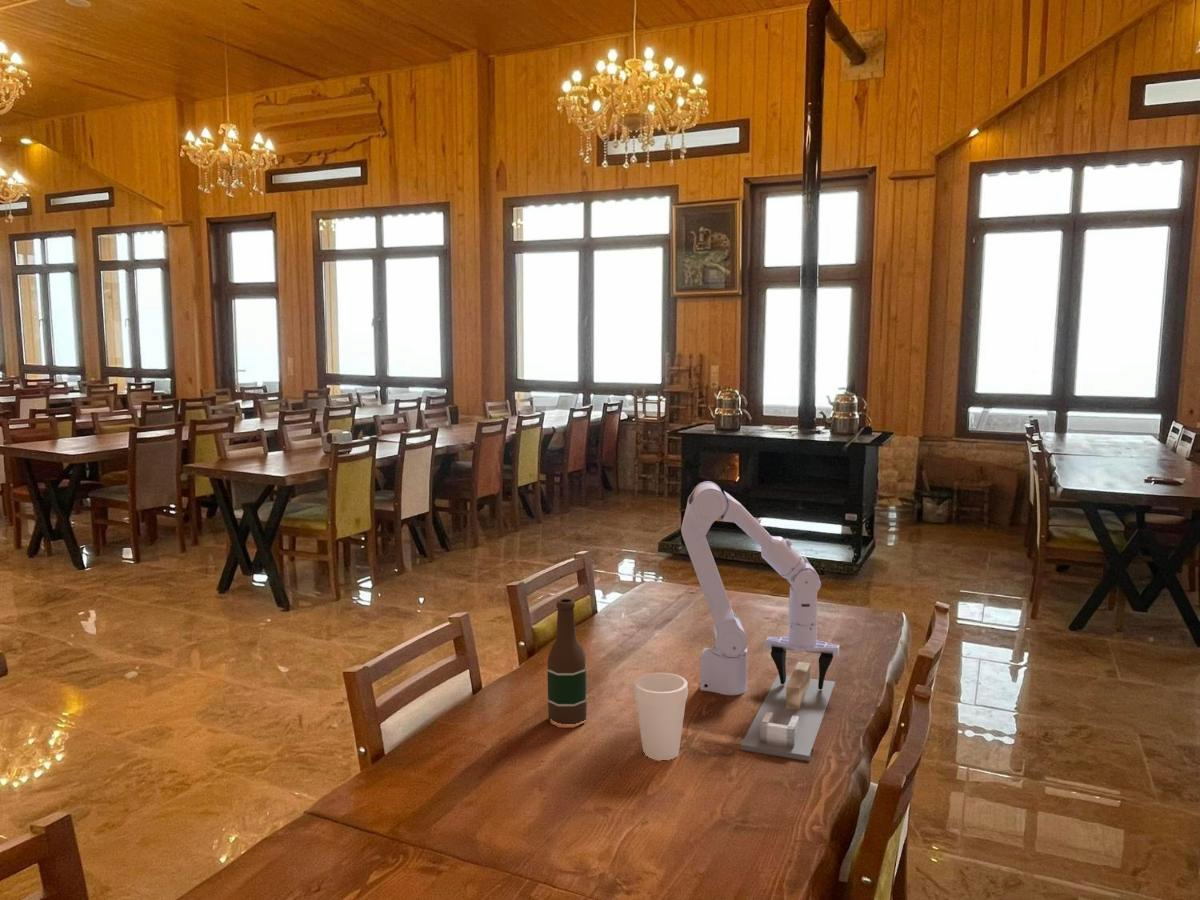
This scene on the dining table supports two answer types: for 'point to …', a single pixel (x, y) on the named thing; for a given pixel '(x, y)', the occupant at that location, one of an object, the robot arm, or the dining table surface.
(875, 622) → the dining table surface
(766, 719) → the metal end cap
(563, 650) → the beer bottle
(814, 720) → the assembly board
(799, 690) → the birch slat
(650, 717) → the foam cup
